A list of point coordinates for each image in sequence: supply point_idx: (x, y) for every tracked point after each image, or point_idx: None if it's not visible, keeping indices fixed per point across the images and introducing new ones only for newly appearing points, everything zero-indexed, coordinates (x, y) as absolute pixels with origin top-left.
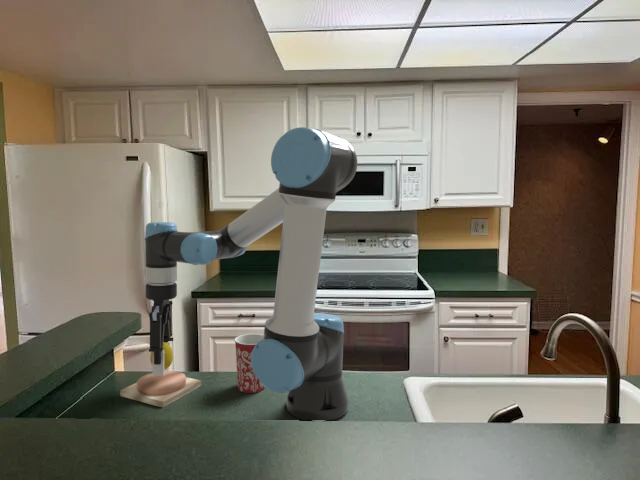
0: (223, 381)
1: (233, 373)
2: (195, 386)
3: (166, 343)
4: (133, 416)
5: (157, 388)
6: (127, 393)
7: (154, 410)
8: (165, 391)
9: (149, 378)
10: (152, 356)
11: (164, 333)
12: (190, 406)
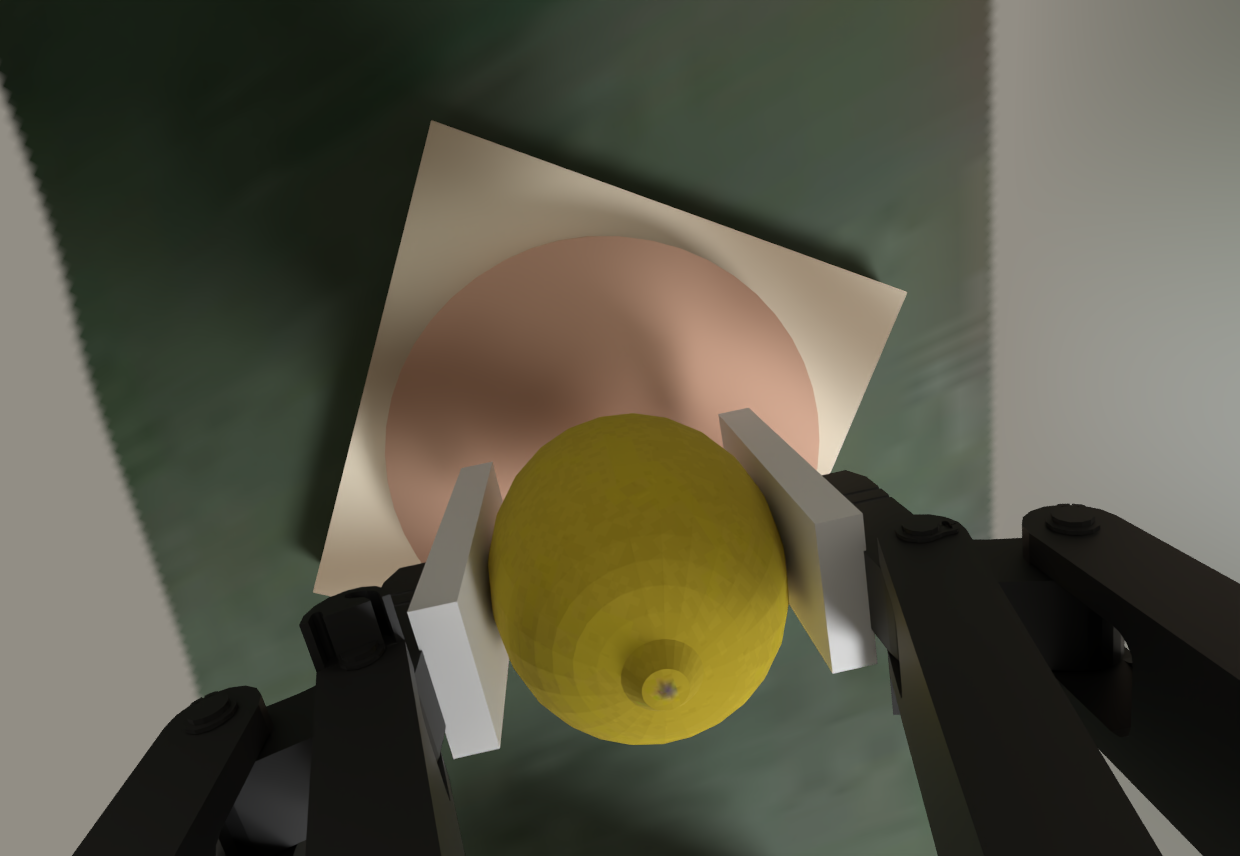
0: (817, 773)
1: None
2: None
3: (703, 716)
4: (140, 429)
5: (418, 510)
6: (411, 214)
7: (273, 529)
8: None
9: (615, 336)
10: (425, 567)
11: (912, 705)
12: None
